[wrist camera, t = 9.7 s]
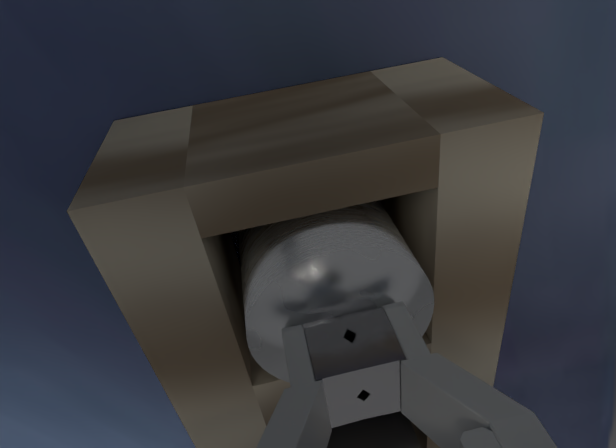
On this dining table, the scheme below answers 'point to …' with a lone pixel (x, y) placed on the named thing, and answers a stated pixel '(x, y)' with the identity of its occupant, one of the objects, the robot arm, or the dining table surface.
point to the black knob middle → (376, 433)
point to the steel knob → (325, 275)
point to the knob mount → (302, 202)
